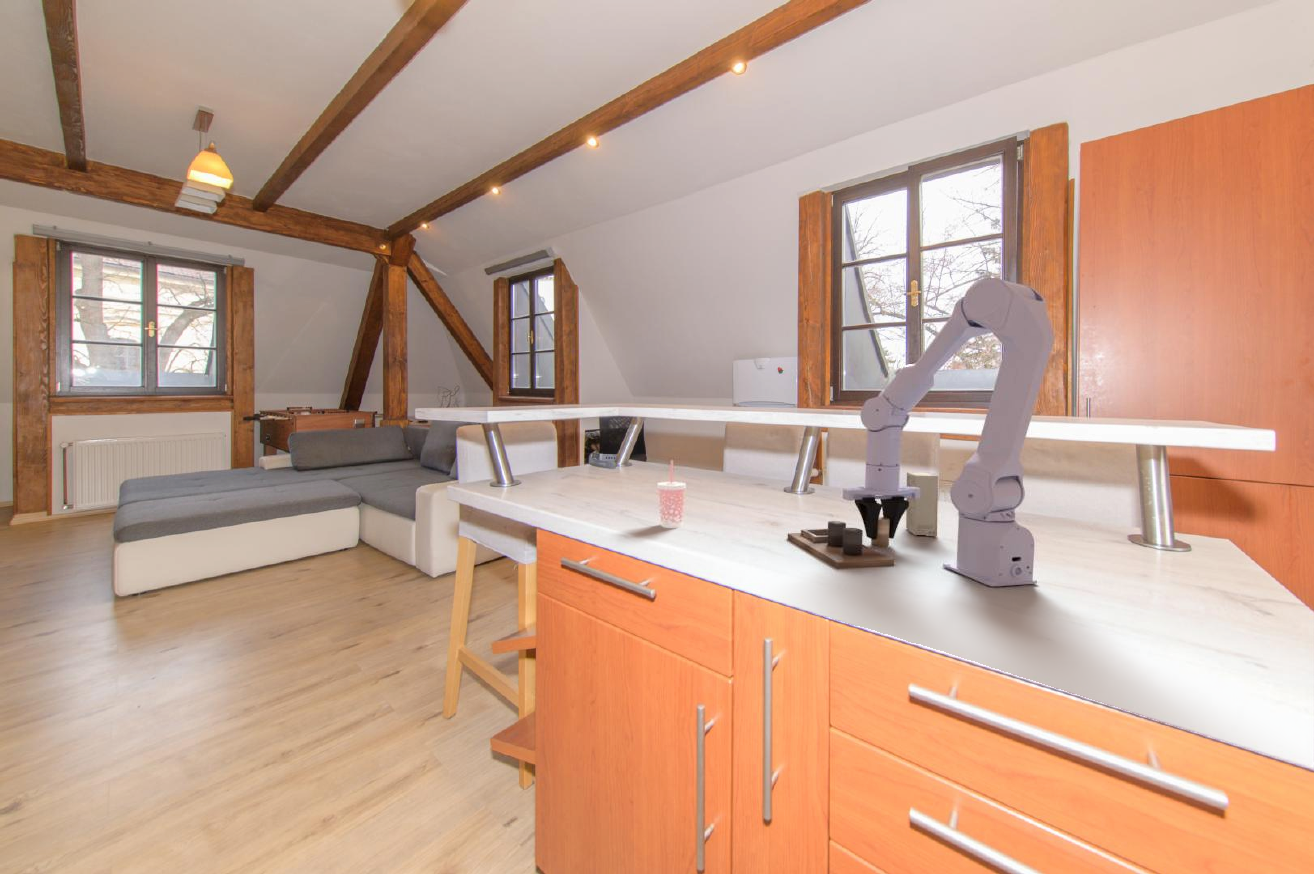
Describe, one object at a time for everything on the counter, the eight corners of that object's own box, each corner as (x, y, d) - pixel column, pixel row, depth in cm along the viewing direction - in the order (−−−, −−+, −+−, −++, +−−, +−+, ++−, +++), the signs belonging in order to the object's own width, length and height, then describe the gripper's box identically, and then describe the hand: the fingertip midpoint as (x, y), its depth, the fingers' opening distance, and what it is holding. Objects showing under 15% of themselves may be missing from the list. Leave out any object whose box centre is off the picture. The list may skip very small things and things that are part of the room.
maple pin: (892, 547, 91) (893, 520, 91) (877, 547, 91) (878, 520, 90) (882, 542, 94) (882, 516, 94) (867, 543, 93) (868, 517, 93)
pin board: (894, 565, 81) (895, 534, 80) (837, 568, 79) (838, 537, 78) (834, 536, 98) (835, 511, 98) (787, 538, 96) (788, 513, 96)
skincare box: (937, 537, 98) (940, 476, 97) (913, 536, 99) (915, 475, 98) (927, 529, 104) (929, 471, 104) (904, 528, 105) (906, 471, 104)
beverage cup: (686, 529, 103) (686, 462, 103) (656, 528, 104) (657, 461, 103) (685, 522, 110) (685, 458, 109) (657, 521, 110) (657, 458, 109)
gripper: (903, 461, 97) (900, 530, 97) (834, 462, 94) (832, 533, 95) (929, 465, 90) (926, 540, 91) (856, 467, 87) (853, 543, 88)
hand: (880, 537), depth 92 cm, fingers closed on maple pin, 3 cm apart
